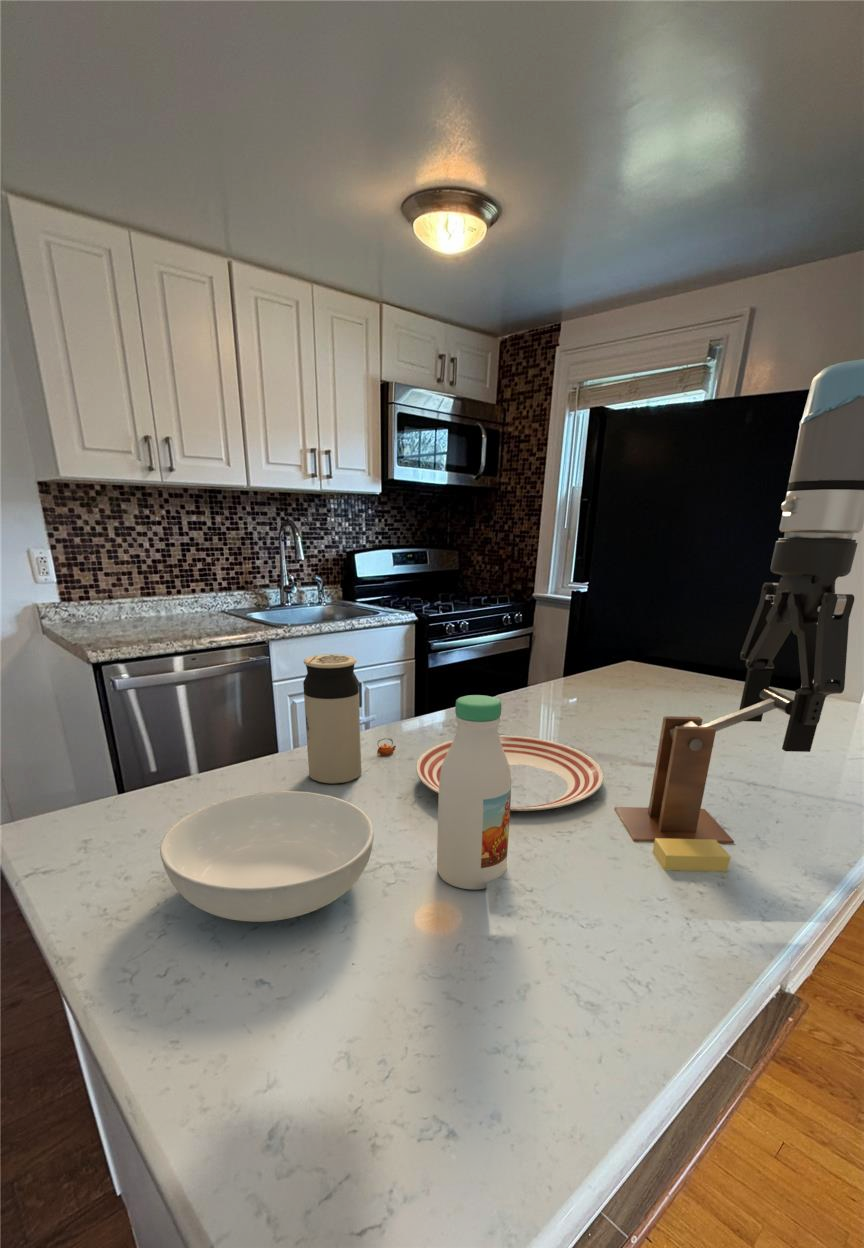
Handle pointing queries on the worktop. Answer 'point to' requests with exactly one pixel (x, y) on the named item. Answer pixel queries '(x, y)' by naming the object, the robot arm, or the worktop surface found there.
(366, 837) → the serving bowl
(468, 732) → the milk bottle
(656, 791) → the brown lever stand
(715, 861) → the butter
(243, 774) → the worktop surface
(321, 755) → the travel mug
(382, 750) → the teapot
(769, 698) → the metal lever handle
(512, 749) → the dinner plate
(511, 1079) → the worktop surface
